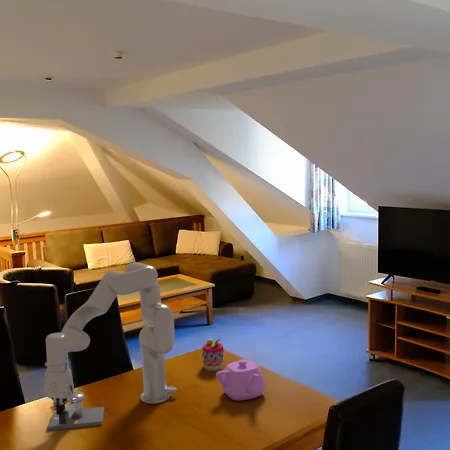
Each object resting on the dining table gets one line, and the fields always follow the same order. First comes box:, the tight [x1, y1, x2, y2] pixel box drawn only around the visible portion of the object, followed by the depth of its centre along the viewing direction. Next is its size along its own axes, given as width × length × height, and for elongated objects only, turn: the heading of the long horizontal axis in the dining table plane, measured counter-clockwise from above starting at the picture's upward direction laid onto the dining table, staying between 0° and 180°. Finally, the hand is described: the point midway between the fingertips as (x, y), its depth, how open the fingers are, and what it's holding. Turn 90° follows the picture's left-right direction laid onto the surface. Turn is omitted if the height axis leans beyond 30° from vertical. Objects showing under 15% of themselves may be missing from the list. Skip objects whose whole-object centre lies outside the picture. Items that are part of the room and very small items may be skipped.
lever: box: [59, 390, 85, 424], centre depth 194 cm, size 17×6×9 cm, turn 176°
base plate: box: [47, 406, 105, 431], centre depth 200 cm, size 20×12×2 cm, turn 99°
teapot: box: [215, 358, 266, 401], centre depth 214 cm, size 23×21×15 cm
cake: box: [201, 337, 225, 372], centre depth 248 cm, size 10×10×15 cm
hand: (60, 413), depth 191 cm, fingers closed
